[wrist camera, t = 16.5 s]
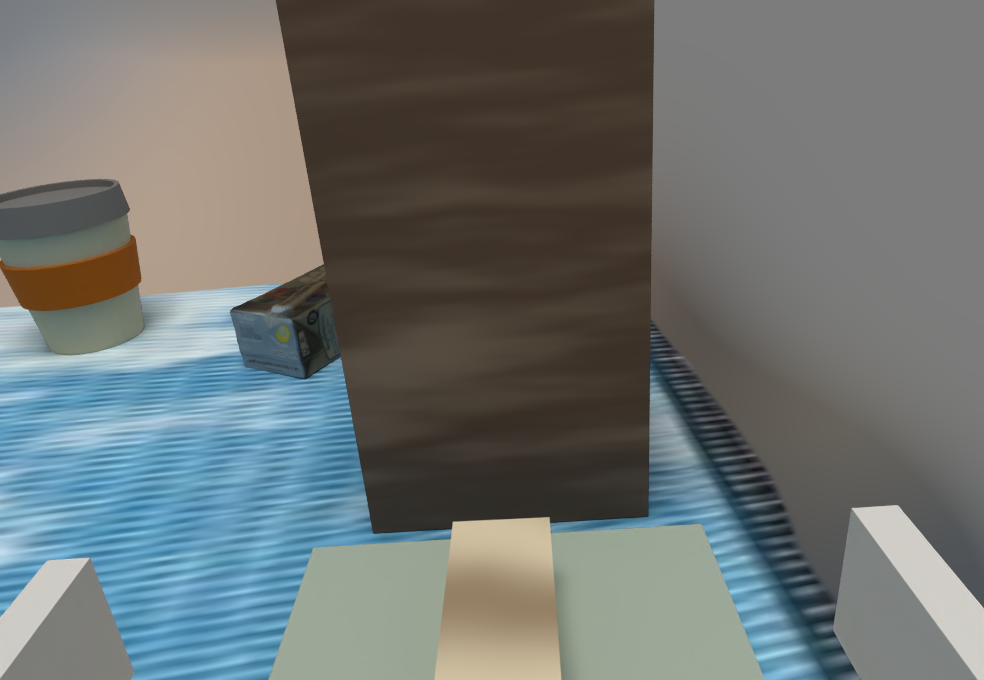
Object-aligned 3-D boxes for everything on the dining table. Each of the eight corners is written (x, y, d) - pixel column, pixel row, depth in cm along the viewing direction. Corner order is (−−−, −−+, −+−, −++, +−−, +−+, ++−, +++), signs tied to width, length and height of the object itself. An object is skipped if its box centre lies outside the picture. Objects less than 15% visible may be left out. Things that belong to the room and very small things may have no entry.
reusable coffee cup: (77, 371, 67) (21, 213, 61) (3, 351, 73) (-54, 205, 67) (187, 321, 77) (149, 180, 71) (114, 307, 83) (73, 176, 77)
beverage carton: (238, 369, 65) (221, 301, 62) (368, 296, 80) (359, 239, 78) (305, 383, 61) (290, 311, 59) (428, 304, 76) (421, 244, 74)
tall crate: (648, 516, 42) (655, -82, 29) (373, 533, 42) (267, -46, 30) (612, 398, 54) (606, -52, 42) (401, 412, 55) (335, -27, 43)
